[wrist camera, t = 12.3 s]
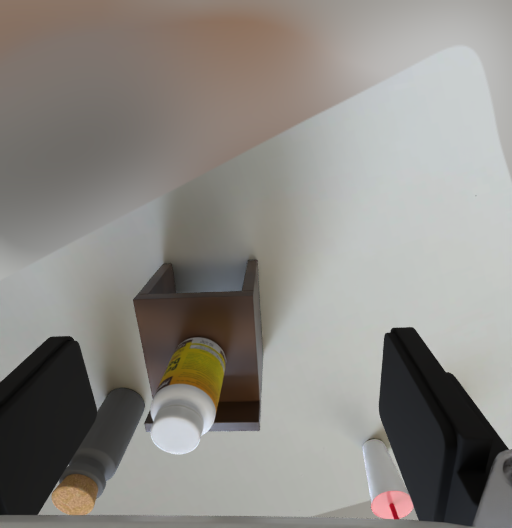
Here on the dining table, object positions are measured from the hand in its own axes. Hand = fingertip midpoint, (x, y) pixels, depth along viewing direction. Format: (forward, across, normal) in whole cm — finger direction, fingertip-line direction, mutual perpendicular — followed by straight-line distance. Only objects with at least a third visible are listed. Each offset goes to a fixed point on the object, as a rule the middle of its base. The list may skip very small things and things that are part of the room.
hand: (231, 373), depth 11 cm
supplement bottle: (+22, +7, +15) cm, 28 cm away
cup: (+32, -15, +39) cm, 53 cm away
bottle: (+32, +22, +30) cm, 49 cm away
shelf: (+32, +7, +15) cm, 36 cm away
